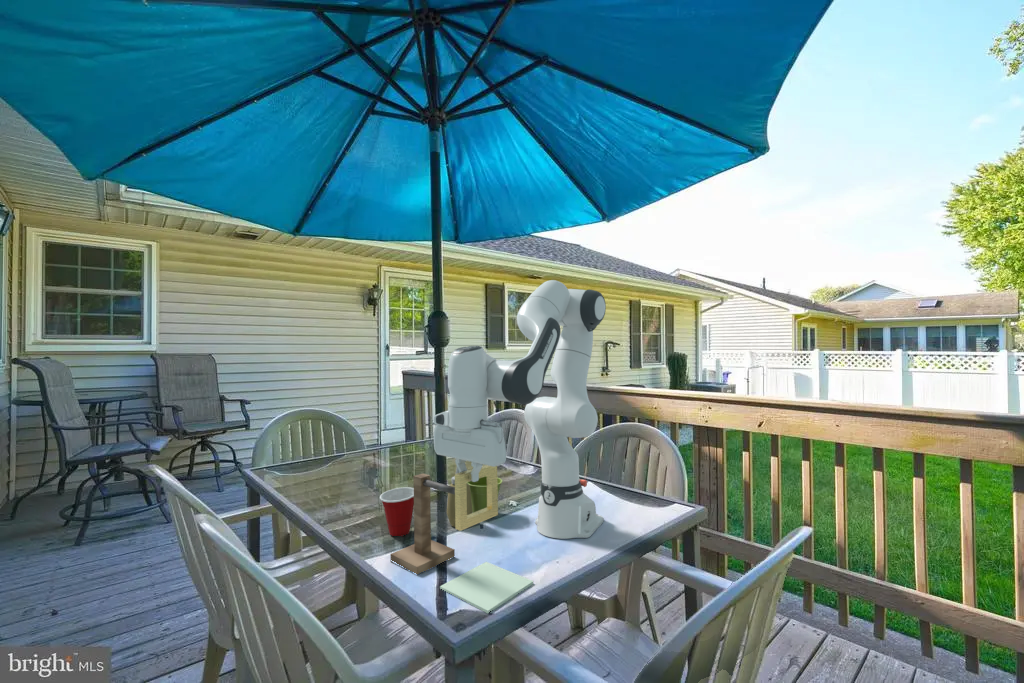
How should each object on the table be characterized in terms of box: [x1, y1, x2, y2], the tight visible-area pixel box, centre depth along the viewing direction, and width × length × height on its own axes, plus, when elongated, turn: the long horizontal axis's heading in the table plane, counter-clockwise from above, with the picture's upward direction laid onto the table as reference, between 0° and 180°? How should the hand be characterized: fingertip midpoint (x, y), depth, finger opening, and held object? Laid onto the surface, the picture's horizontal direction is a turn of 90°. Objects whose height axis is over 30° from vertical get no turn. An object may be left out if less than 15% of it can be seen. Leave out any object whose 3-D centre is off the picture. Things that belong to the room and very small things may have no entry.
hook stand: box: [390, 473, 456, 575], centre depth 112 cm, size 12×20×22 cm, turn 49°
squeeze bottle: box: [446, 467, 473, 528], centre depth 138 cm, size 8×8×18 cm
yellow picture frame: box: [454, 464, 499, 532], centre depth 102 cm, size 12×2×12 cm, turn 139°
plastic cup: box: [379, 486, 414, 537], centre depth 132 cm, size 11×11×12 cm
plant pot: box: [467, 476, 503, 513], centre depth 145 cm, size 12×12×11 cm
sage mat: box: [439, 561, 534, 614], centre depth 102 cm, size 15×15×1 cm
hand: (469, 479), depth 100 cm, fingers closed on yellow picture frame, 2 cm apart
